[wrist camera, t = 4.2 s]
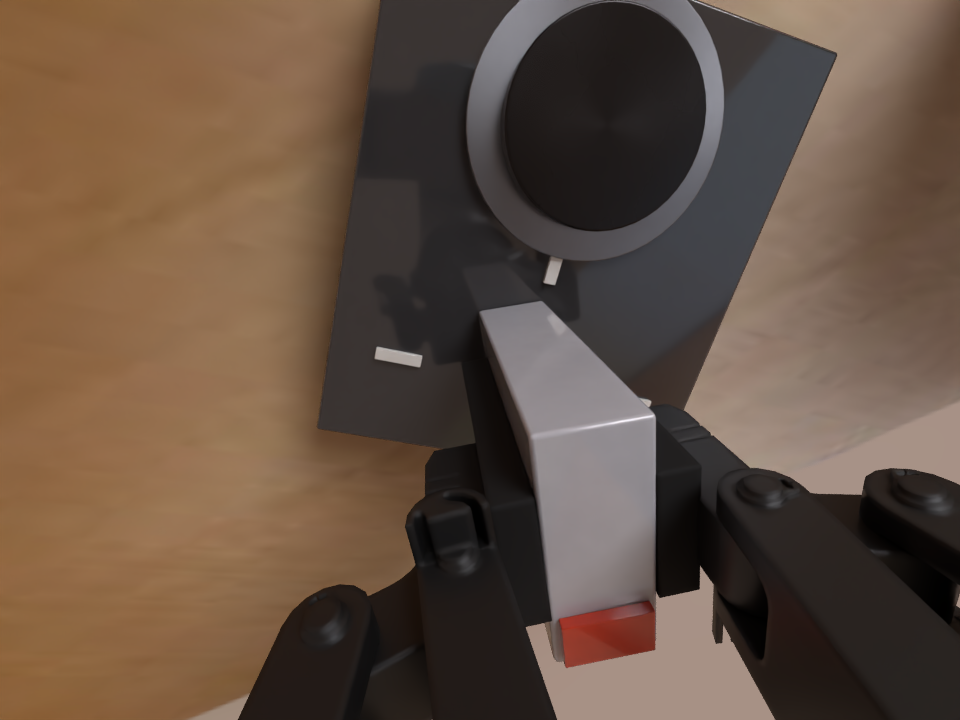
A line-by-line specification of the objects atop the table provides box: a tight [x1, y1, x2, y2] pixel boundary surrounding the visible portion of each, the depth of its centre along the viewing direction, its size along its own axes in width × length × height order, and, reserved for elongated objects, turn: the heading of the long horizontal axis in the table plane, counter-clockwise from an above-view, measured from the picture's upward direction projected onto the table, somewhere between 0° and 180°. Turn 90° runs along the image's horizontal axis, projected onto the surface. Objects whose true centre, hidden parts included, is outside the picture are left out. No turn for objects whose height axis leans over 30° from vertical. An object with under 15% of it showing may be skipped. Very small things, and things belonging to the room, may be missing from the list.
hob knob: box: [479, 301, 656, 668], centre depth 11 cm, size 5×2×8 cm, turn 8°
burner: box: [465, 0, 724, 261], centre depth 12 cm, size 7×7×1 cm
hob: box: [317, 0, 837, 449], centre depth 15 cm, size 16×12×3 cm
